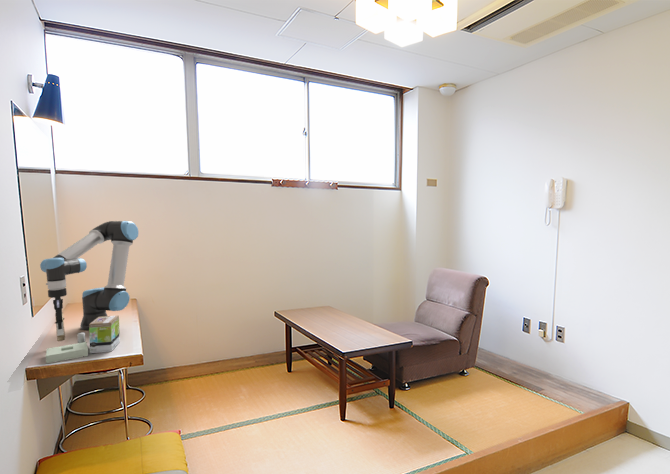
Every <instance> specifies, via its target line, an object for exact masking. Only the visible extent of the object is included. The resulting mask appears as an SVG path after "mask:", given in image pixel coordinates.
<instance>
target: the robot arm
mask: <svg viewBox="0 0 670 474" xmlns="http://www.w3.org/2000/svg"><path fill="white" fill-rule="evenodd" d="M138 237H139V228H138V226H137V225H136V224H135V223H134V222H133V221H129V220H118V221H117V220H109V221H106V222H103V223H101V224H99V225H97V226H95V227H94V228H92V229H91V230H90V231H89V233H88V234H86V235H85V236H84V237H82V238H80V239H79V240H77V241H76V242H75V243H73V244H72V245H70V246H68V247H67V248H65V249H64V250H62V251H61V252H60V253H59V252H58V254H57V255H55V256H54V257H50V258H45V259H42V260H41V262H40V264H39V266H40V270H41V271H42V272H44V273H45V274H46V283H45V286H47V289H48V290H47V297H48V298H49V299H54V300H52V302H53V303H52V304H53V309H54V310H55V313H56V317H55V322H54V324H55V326H57V330H56V337H57V336H60V335H64V332H65V328H64V329H63V320H62V312H63V308H64V306H63V302H64V299H63V297H65V296H67V295H68V292H67V288H66V287H67V278H66V276H67V275H73V274H79V273H83V272H85V270H86V269H87V267H88V265H87V261H86V260H85V259H84V258H80V257H81V256H83V255H84V254H86V253H87V252H89V251H90V250H91V249H92V248H94V247H95V246H97V245H101V244H104V242H107V241H110V243H112V251H111V252H112V253H111V260H110V266H109V273H108V280H107V284H106V285H105V286H104V287H95V288H91V289H86V290H84V291H83V292H82V293H81V294H82V295H81V296H82V297H81V300H82V312H83V314H82V315H83V316H82V319H81V322H80V325H79V326H80V330H82V331H89V324H90V323H91V322H93V321H94V320H95V319H96V318H98V317H103V316H108V314H107V311H108V312H109V311H110V312H118V311H119V312H120V311H124V310H125V308H126V307H128V304H129V303H130V295H129V294H130V293H129V292H127V287H126V285H125V281H126V280H125V279H126V273H127V267H128V260H129V259H128V258H129V251H130V247H131V246H132V245H133V243H134V241H135V240H136V239H137V238H138ZM63 319H64V320H65V317H63Z"/></svg>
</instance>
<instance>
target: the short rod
mask: <svg viewBox="0 0 670 474" xmlns="http://www.w3.org/2000/svg"><path fill="white" fill-rule="evenodd" d="M76 337H77V343H83V342H86V332H83V331H82V332H78V333H77V336H76Z"/></svg>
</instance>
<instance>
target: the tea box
mask: <svg viewBox="0 0 670 474" xmlns="http://www.w3.org/2000/svg"><path fill="white" fill-rule="evenodd" d="M88 331H89V332H88V333H89V337H88V338H89V340H88V342H89V354H99V353H100V354H101V353H109V352H112V351H113V350H114V349H115V347H117V345H119V344H120V340H121V339H120V315H107V316H103V317H98V318H96V319H95V320H94V321H93V322H91V323H90V324H89V330H88Z"/></svg>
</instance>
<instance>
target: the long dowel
mask: <svg viewBox="0 0 670 474" xmlns="http://www.w3.org/2000/svg"><path fill="white" fill-rule="evenodd" d="M54 316H55V318H56V312H55V314H54ZM63 318H64V312H63V311H62V320H63V329H64V330H65V322H64V320H65V318H64V319H63ZM55 326H56V325H55ZM55 329H56V331H57V326H56V328H55ZM65 333H66V332H65V331H64V335H60V336H57V335H56V341H57V342H63V341H65V340H66V336H65V335H66V334H65Z"/></svg>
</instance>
